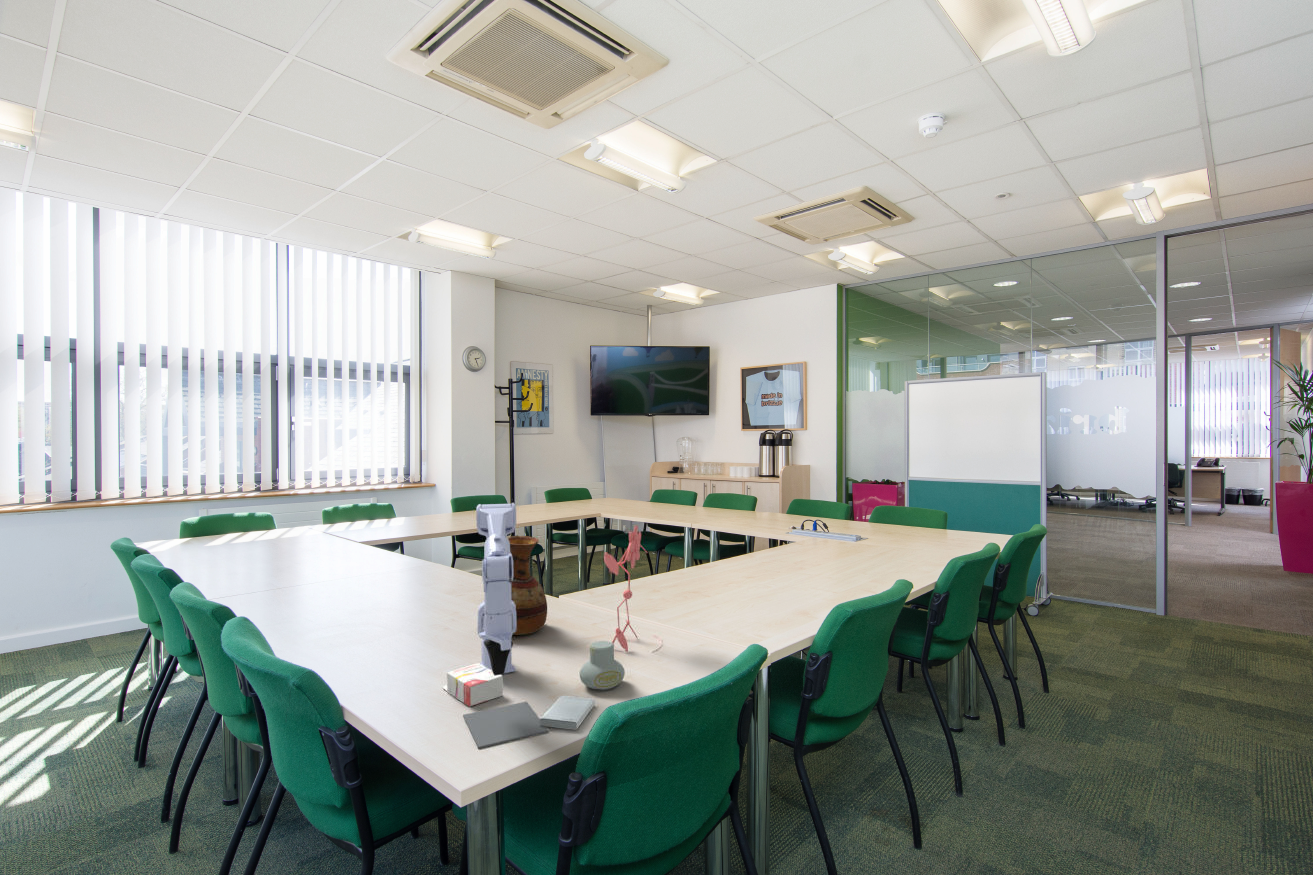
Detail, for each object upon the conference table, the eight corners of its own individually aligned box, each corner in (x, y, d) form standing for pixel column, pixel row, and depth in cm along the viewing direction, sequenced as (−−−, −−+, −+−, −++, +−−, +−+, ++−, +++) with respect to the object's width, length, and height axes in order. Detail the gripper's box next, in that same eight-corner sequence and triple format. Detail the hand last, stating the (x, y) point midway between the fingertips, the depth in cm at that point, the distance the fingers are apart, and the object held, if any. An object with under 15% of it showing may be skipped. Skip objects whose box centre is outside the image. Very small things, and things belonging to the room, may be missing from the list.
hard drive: (577, 722, 124) (594, 697, 136) (539, 717, 126) (560, 694, 138) (576, 730, 124) (594, 705, 136) (539, 725, 126) (560, 701, 138)
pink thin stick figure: (596, 658, 166) (597, 530, 166) (624, 630, 191) (626, 519, 191) (650, 664, 162) (651, 533, 162) (672, 635, 187) (673, 521, 187)
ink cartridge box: (469, 685, 136) (440, 668, 147) (469, 707, 136) (440, 689, 147) (503, 674, 142) (472, 659, 153) (503, 695, 142) (473, 678, 153)
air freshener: (585, 695, 142) (585, 652, 142) (575, 683, 149) (575, 642, 149) (629, 687, 146) (628, 646, 146) (617, 676, 154) (617, 636, 154)
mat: (463, 716, 131) (463, 714, 131) (526, 702, 138) (526, 701, 138) (478, 748, 117) (478, 746, 117) (548, 732, 124) (548, 730, 124)
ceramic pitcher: (502, 645, 178) (501, 543, 179) (472, 630, 193) (471, 536, 194) (559, 631, 191) (558, 536, 191) (527, 618, 206) (526, 529, 207)
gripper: (472, 605, 137) (473, 666, 137) (486, 622, 124) (487, 688, 124) (503, 601, 140) (504, 660, 140) (520, 617, 127) (521, 682, 127)
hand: (498, 673), depth 132 cm, fingers closed
